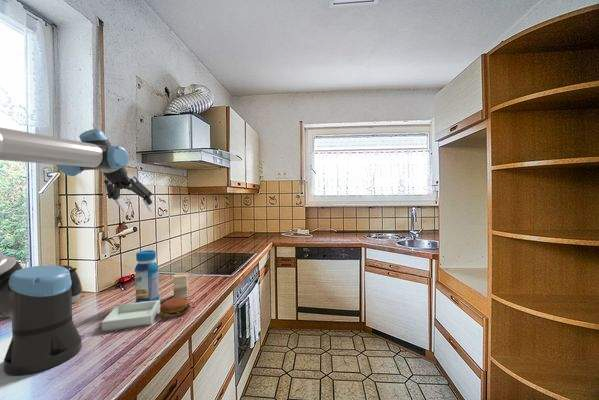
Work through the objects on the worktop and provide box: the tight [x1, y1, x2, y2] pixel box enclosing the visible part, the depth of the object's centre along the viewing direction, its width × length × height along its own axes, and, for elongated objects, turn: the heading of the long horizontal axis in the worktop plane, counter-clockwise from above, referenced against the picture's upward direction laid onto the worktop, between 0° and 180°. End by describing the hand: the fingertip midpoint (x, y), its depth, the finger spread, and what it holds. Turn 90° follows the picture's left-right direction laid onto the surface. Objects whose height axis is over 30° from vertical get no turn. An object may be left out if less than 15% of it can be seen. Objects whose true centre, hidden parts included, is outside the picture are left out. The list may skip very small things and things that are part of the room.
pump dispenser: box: [61, 264, 83, 304], centre depth 109 cm, size 10×10×15 cm
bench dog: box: [172, 271, 189, 298], centre depth 115 cm, size 5×5×9 cm
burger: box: [159, 297, 191, 319], centre depth 99 cm, size 10×9×5 cm
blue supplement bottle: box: [134, 249, 160, 303], centre depth 109 cm, size 8×8×20 cm
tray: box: [101, 299, 161, 333], centre depth 95 cm, size 14×14×3 cm
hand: (139, 209), depth 122 cm, fingers open, 13 cm apart
